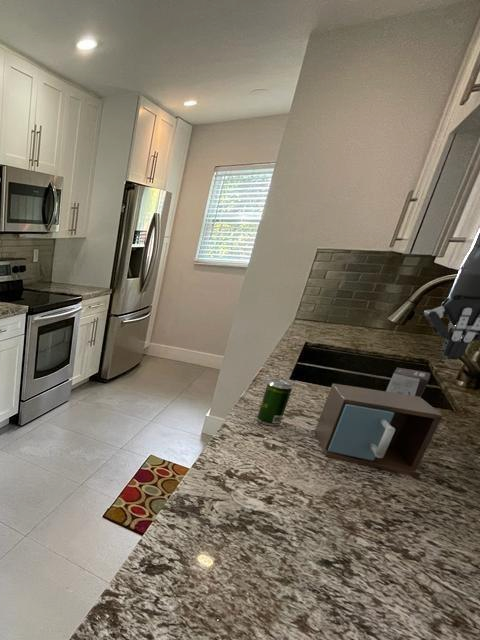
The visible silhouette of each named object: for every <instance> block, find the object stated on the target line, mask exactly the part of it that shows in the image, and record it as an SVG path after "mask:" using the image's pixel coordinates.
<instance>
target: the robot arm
mask: <svg viewBox="0 0 480 640" xmlns="http://www.w3.org/2000/svg"><path fill="white" fill-rule="evenodd" d="M423 315H424V317H425V319H426V320H427V322H428V323H429V325H430V326H431V328H432V330H433V331H434V333H435V334H436V335H438V336H440V337H442V338H444V339H445V340H444V343H443V345H442V347H441V349H440V354H441V355H442V358H444V359H446V360H447V359H448V360H455V361H456V360H458V359H459V358H462V357H463V356H464V354H465V352H466V350H467V348H468V346H469V344H470V343H471V342H474V341H480V228H479V229H478V231H477V233H476V235H475V237H474V240H473V242H472V245H471V247H470V249H469V251H468V252H467V254H466V255H465V257H464V259H463V261H462V264H461V265H460V266H459V270H458V273H457V275H456V277H455V280H454V282H453V285H452V287H451V289H450V292H449V294H448V297H447V298H445V300H444V301H443V302H442V303H441V305H440V306H438V307H435V308H432V309H425V310H424V311H423ZM444 315H445V316H446V318H447V319H448V321H449V322H448V324H447V325H448V329H447V327H446V325H445V324H444V322H443V320H442V318H444Z"/></svg>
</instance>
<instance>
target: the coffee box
mask: <svg viewBox="0 0 480 640" xmlns="http://www.w3.org/2000/svg"><path fill="white" fill-rule="evenodd" d="M430 376H431V372H427V371H422V370H416V369H415V370H414V369H407V368H402V367H396V369H395V370H394V372H393V373H392V376H391V378H390V380H389V383H388V385H387V387H386V390H385V392H392V393H398V394H405V395H411V396H418V397H421V398H422V396H423V394H424V392H425V390H426V387H427V385H428V383H429V381H430V378H431V377H430Z"/></svg>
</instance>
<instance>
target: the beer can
mask: <svg viewBox="0 0 480 640" xmlns="http://www.w3.org/2000/svg"><path fill="white" fill-rule="evenodd" d="M292 391H293V382H291V381H289V380H286V379H283V378H270V379H269V381H268V382H267V384H266V387H265V390H264V394H263V397H262V400H261V402H260V403H261V404H260V406H259V410H258V413H257V421H258V422H259V423H260V424H263V425H265V426H269V427H278V426H279V425H280V424H281V423H282V420H283V417H284V414H285V411H286V409H287V406H288V402H289V399H290V396H291V393H292Z"/></svg>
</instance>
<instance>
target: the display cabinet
mask: <svg viewBox="0 0 480 640" xmlns="http://www.w3.org/2000/svg"><path fill="white" fill-rule="evenodd" d="M346 404H347V405H353V406H359V407H365V408H370V409H376V410H382V411H388V412H393V413H394V416H393V418H392V420H391V422H390V425H391V426H392V427H394V428H395V432H394V434H393V437H392V439H391V441H390V443H389V446H388V448H387V450H386V452H385V455H384V457H383V458H377V457H376V456H375V459H374V461H372V460H368V459H363V458H358V457H354V456H349V455H344V454H340V453H335V452H330V451H328V449H329V446H330V444H331V441H332V439H333V436H334V433H335V431H336V428H337V426H338V423H339V421H340V418H341V415H342V413H343V410H344V408H345V405H346ZM443 417H444V415H443V414H442V413H441V412H439V411H438V410H437V409H436V408H435V407H433V406H432V405H430V404H429V403H428V402H427V401H426V400H425V399H423V398H422V396H421V397H418V396H411V395H405V394H398V393H392V392H386V390H378V389H372V388H365V387H359V386H353V385H345V384H340V383H332V384H331V386H330V389H329V391H328V394H327V397H326V400H325V402H324V405H323V408H322V411H321V413H320V416H319V418H318V421H317V424H316V427H315V429H314V432H313V433H314V435H315V439H316V440H317V442H318V444H319V446H320V448H321V450H322V452H323V454H324V456H325V457H326V458H330V459H334V460H335V459H336V460H339V461H342V462H343V461H344V462H349V463H354V464H356V465H363V466H367V467H370V468H371V467H372V468H375V469H381V470H384V471H389V472H394V473H399V474H403V475H408V476H413V477H417V478H419V477H421V476H420V475H421V472H420V470H418V468H419V466H420V463H421V461H422V460H423V457H424V456H425V453H426V451H427V449H428V447H429V445H430V443H431V441H432V439H433V437H434V436H435V433H436V431H437V429H438V427H439V425H440V423H441V420H442V419H443Z"/></svg>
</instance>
